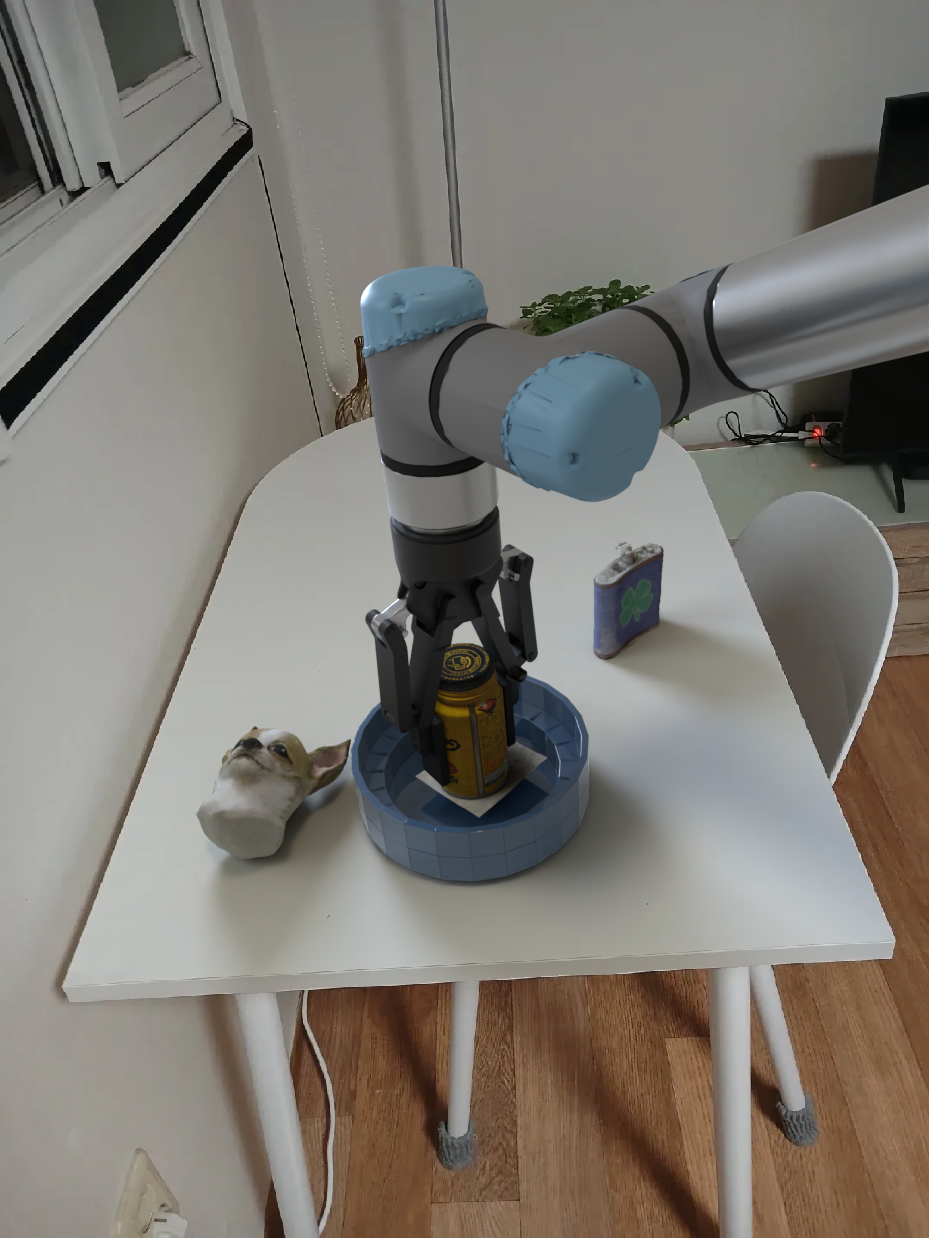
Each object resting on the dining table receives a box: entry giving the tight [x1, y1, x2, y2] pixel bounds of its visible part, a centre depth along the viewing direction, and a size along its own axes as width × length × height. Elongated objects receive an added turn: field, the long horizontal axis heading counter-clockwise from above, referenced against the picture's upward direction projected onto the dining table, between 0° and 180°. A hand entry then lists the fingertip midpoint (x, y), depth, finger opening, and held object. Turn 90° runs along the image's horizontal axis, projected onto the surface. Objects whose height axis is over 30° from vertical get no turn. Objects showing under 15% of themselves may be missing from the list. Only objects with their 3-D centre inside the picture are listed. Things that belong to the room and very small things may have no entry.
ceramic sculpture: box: [195, 725, 352, 860], centre depth 79 cm, size 11×9×15 cm
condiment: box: [416, 642, 547, 817], centre depth 76 cm, size 7×8×12 cm
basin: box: [350, 674, 590, 882], centre depth 79 cm, size 19×19×6 cm
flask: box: [593, 540, 665, 660], centre depth 94 cm, size 9×3×11 cm, turn 133°
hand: (470, 755), depth 78 cm, fingers closed on condiment, 6 cm apart
